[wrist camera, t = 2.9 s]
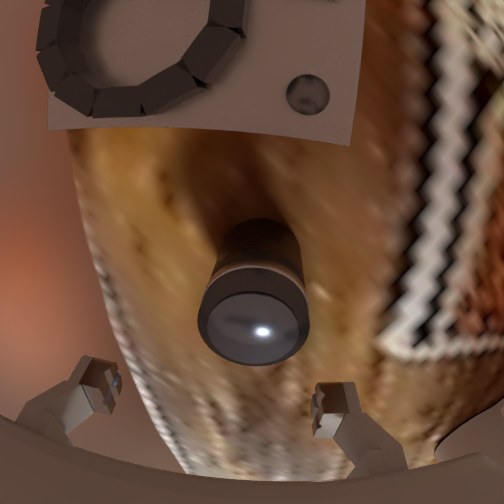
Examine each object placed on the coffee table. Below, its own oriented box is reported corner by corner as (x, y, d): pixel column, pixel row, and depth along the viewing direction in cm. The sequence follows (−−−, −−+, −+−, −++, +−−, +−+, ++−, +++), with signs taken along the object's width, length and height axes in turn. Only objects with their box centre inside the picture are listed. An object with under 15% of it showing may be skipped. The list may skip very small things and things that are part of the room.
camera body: (345, -23, 12) (378, -76, 6) (329, 134, 16) (360, 153, 10) (112, -23, 12) (50, -56, 6) (96, 120, 17) (24, 136, 11)
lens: (307, 223, 19) (322, 290, 12) (294, 293, 21) (299, 375, 15) (222, 213, 19) (194, 275, 13) (218, 284, 21) (195, 363, 15)
